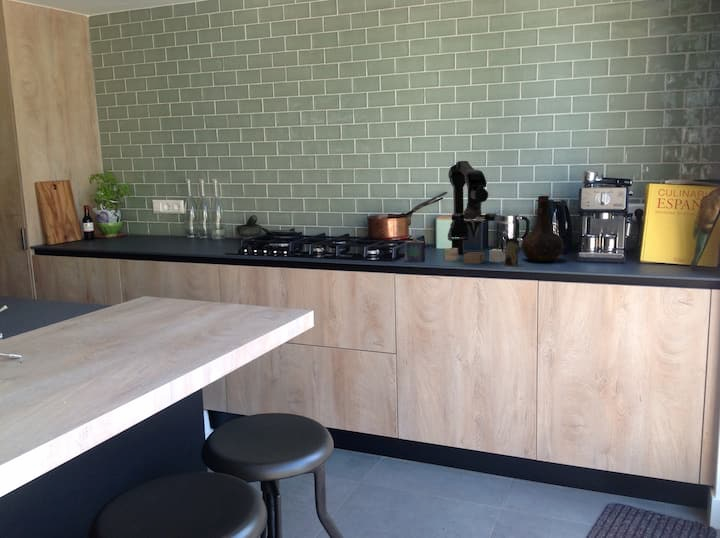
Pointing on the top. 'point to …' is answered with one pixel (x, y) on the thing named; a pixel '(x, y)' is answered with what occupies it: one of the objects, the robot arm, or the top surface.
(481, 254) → the walnut block
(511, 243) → the mug
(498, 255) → the grey block marked
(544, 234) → the brown bottle vase
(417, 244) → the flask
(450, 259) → the beech block marked
